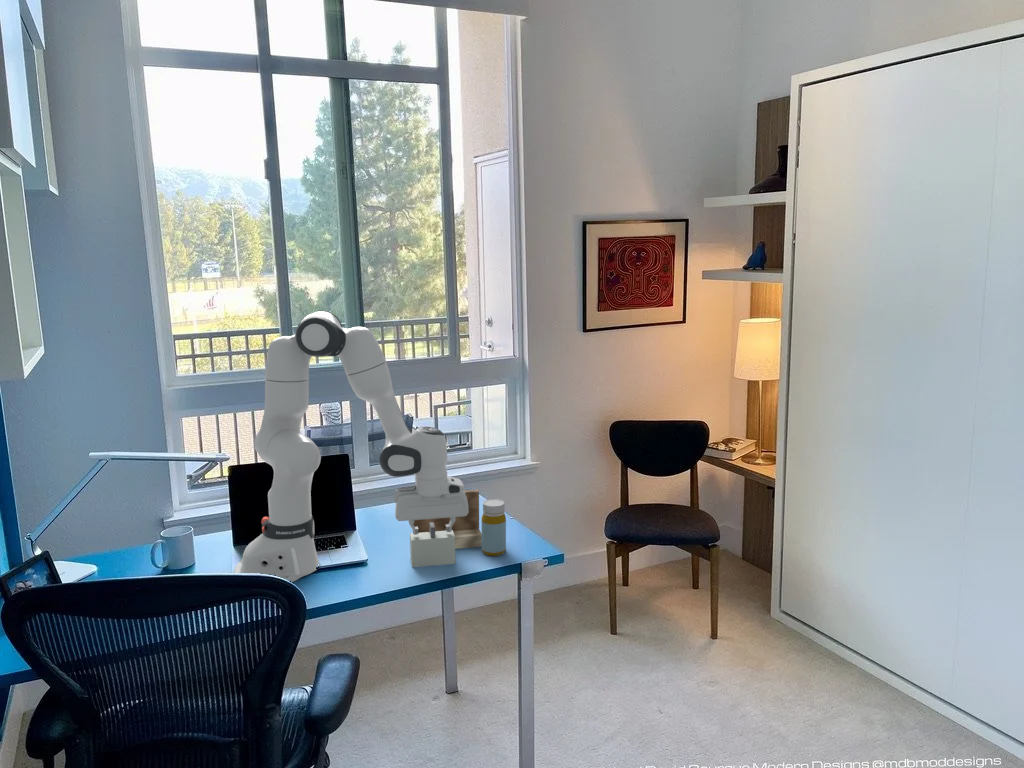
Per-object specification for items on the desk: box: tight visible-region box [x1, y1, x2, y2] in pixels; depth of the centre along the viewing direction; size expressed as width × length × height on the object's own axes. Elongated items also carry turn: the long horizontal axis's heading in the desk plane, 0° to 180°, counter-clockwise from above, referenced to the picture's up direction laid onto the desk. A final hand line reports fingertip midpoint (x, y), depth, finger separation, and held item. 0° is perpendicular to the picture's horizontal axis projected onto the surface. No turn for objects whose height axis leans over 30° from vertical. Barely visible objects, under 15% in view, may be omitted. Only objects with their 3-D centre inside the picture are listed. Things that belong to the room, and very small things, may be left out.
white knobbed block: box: [409, 522, 456, 568], centre depth 212 cm, size 12×5×11 cm, turn 102°
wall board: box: [414, 488, 482, 550], centre depth 225 cm, size 20×10×14 cm, turn 102°
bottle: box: [481, 498, 507, 557], centre depth 218 cm, size 7×7×15 cm
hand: (432, 532), depth 211 cm, fingers open, 8 cm apart
